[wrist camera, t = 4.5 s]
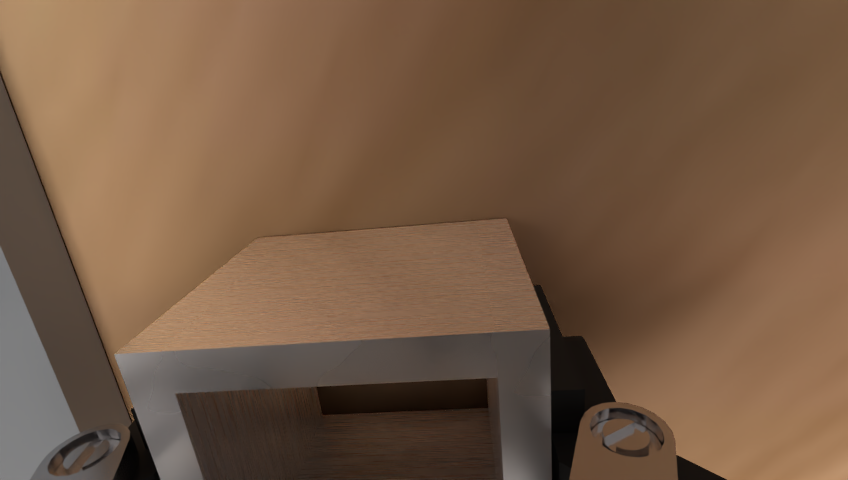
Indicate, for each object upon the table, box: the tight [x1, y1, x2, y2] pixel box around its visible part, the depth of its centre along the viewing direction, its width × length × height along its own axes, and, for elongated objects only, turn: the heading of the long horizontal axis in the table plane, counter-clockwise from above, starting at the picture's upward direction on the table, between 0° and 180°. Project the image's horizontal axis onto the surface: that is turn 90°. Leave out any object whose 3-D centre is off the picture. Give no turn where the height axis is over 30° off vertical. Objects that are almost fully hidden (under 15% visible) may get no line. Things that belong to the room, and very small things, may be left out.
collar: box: [114, 218, 552, 480], centre depth 9 cm, size 6×6×5 cm
